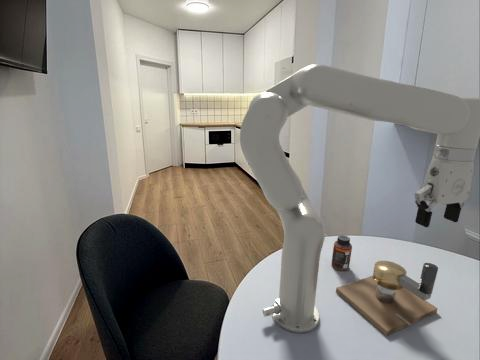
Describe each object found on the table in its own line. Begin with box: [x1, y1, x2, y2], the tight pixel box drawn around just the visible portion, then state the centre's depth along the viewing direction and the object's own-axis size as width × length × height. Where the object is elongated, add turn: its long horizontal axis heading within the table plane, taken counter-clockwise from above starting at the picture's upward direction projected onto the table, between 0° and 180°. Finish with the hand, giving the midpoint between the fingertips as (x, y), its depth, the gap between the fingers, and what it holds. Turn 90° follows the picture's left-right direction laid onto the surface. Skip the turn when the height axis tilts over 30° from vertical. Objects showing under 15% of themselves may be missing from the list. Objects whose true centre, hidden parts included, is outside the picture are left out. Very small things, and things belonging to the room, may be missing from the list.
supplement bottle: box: [331, 234, 353, 271], centre depth 98 cm, size 6×6×11 cm
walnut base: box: [335, 275, 438, 337], centre depth 82 cm, size 20×19×2 cm
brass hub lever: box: [372, 260, 439, 301], centre depth 76 cm, size 16×10×11 cm, turn 24°
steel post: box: [375, 285, 396, 304], centre depth 81 cm, size 5×5×6 cm
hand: (436, 222), depth 69 cm, fingers open, 9 cm apart
